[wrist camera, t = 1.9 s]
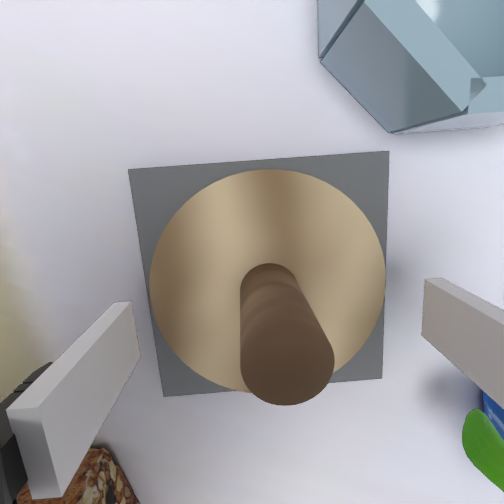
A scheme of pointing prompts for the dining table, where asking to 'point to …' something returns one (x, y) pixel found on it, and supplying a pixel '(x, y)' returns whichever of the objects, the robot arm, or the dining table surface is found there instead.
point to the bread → (90, 484)
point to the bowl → (418, 60)
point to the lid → (268, 283)
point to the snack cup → (486, 440)
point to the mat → (202, 175)
